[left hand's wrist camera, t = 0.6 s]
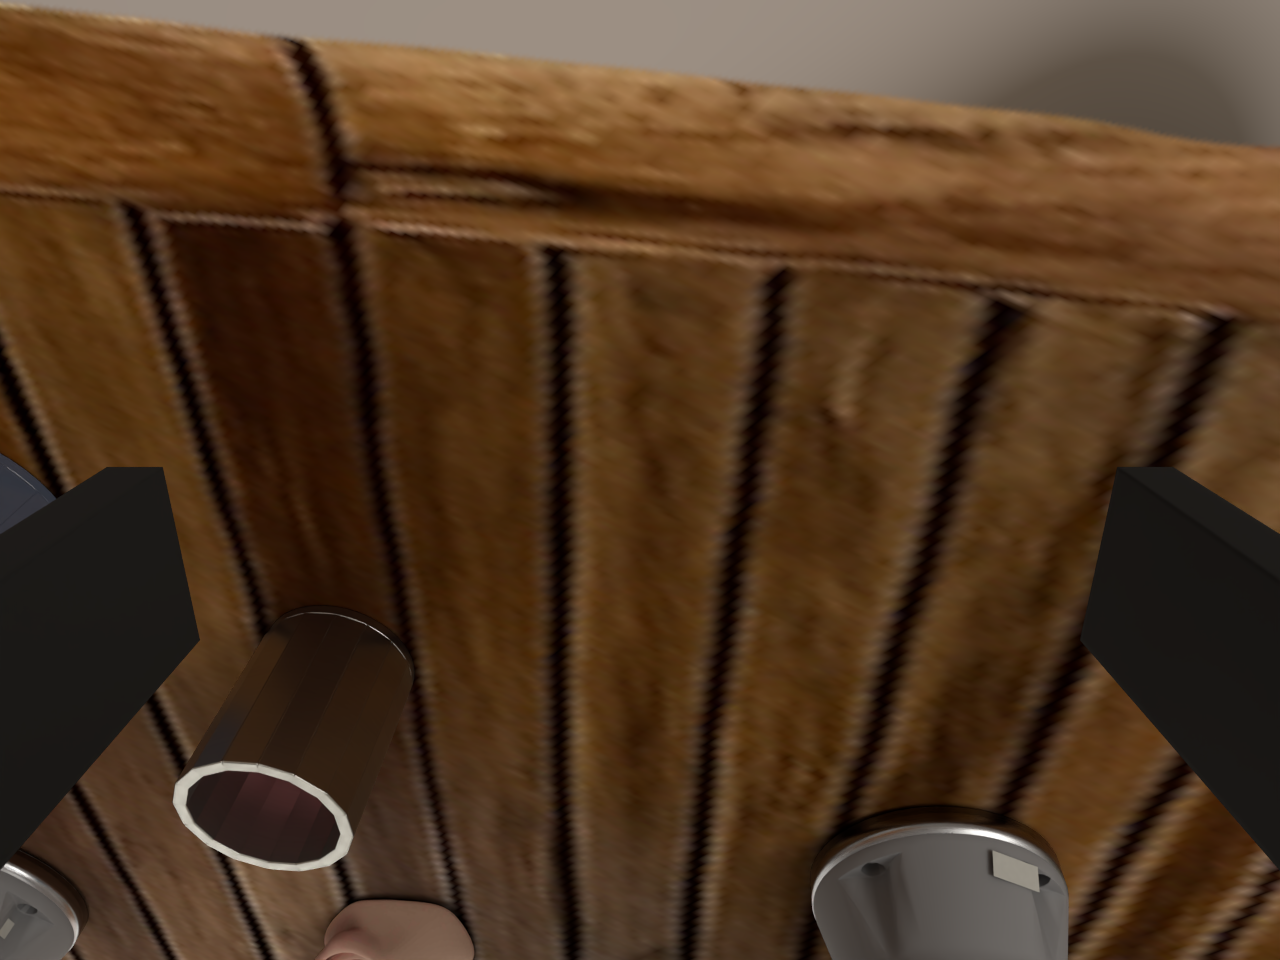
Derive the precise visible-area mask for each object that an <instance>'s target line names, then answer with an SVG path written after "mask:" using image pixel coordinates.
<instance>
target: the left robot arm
mask: <svg viewBox="0 0 1280 960" xmlns="http://www.w3.org/2000/svg"><path fill="white" fill-rule="evenodd" d="M199 640H200V639H199V634H198V629H197V625H196V620H195V615H194V611H193V606H192V601H191V597H190V592H189V587H188V583H187V578H186V574H185V569H184V564H183V560H182V555H181V550H180V546H179V541H178V536H177V532H176V527H175V522H174V518H173V513H172V508H171V504H170V499H169V494H168V490H167V485H166V480H165V476H164V471H163V467H106V468H105V469H103V470H102V471H100V472H98V473H97V474H95V475H94V476H92V477H90V478H89V479H87V480H86V481H84V482H83V483H81V484H79V485H78V486H76V487H75V488H73V489H71V490H70V491H68V492H67V493H65V494H63V495H62V496H60V497H59V498H57V499H55V500H54V501H52V502H51V503H49V504H48V505H46V506H44V507H43V508H41V509H40V510H38V511H36V512H35V513H33V514H32V515H30V516H28V517H27V518H25V519H24V520H22V521H20V522H19V523H17V524H16V525H14V526H12V527H11V528H9V529H8V530H6V531H5V532H3V533H1V534H0V870H1V869H2V868H3V866H4V865H5V864H6V863H7V862H8V861H9V860H10V858H11V857H12V856H13V855H14V854H15V853H16V851H17V850H18V849H19V848H20V847H21V846H22V845H23V843H24V842H25V841H26V840H27V839H28V838H29V837H30V835H31V834H32V833H33V832H34V831H35V830H36V828H37V827H38V826H39V825H40V824H41V823H42V822H43V820H44V819H45V818H46V817H47V816H48V815H49V813H50V812H51V811H52V810H53V809H54V808H55V807H56V805H57V804H58V803H59V802H60V801H61V800H62V798H63V797H64V796H65V795H66V794H67V793H68V792H69V790H70V789H71V788H72V787H73V786H74V785H75V783H76V782H77V781H78V780H79V779H80V778H81V777H82V775H83V774H84V773H85V772H86V771H87V770H88V768H89V767H90V766H91V765H92V764H93V763H94V762H95V760H96V759H97V758H98V757H99V756H100V755H101V753H102V752H103V751H104V750H105V749H106V748H107V747H108V745H109V744H110V743H111V742H112V741H113V740H114V738H115V737H116V736H117V735H118V734H119V733H120V732H121V730H122V729H123V728H124V727H125V726H126V725H127V723H128V722H129V721H130V720H131V719H132V718H133V717H134V715H135V714H136V713H137V712H138V711H139V710H140V708H141V707H142V706H143V705H144V704H145V703H146V702H147V700H148V699H149V698H150V697H151V696H152V695H153V693H154V692H155V691H156V690H157V689H158V688H159V687H160V685H161V684H162V683H163V682H164V681H165V680H166V678H167V677H168V676H169V675H170V674H171V673H172V672H173V670H174V669H175V668H176V667H177V666H178V665H179V663H180V662H181V661H182V660H183V659H184V658H185V657H186V655H187V654H188V653H189V652H190V651H191V650H192V648H193V647H194V646H195V645H196V644H197V643H198V642H199ZM1080 640H1081V642H1082V643H1083V644H1084V645H1085V646H1086V647H1087V648H1088V650H1089V651H1090V652H1091V653H1092V654H1093V655H1094V657H1095V658H1096V659H1097V660H1098V661H1099V662H1100V663H1101V665H1102V666H1103V667H1104V668H1105V669H1106V670H1107V672H1108V673H1109V674H1110V675H1111V676H1112V677H1113V678H1114V680H1115V681H1116V682H1117V683H1118V684H1119V685H1120V687H1121V688H1122V689H1123V690H1124V691H1125V692H1126V693H1127V695H1128V696H1129V697H1130V698H1131V699H1132V700H1133V702H1134V703H1135V704H1136V705H1137V706H1138V707H1139V708H1140V710H1141V711H1142V712H1143V713H1144V714H1145V715H1146V717H1147V718H1148V719H1149V720H1150V721H1151V722H1152V723H1153V725H1154V726H1155V727H1156V728H1157V729H1158V730H1159V732H1160V733H1161V734H1162V735H1163V736H1164V737H1165V738H1166V740H1167V741H1168V742H1169V743H1170V744H1171V745H1172V747H1173V748H1174V749H1175V750H1176V751H1177V752H1178V753H1179V755H1180V756H1181V757H1182V758H1183V759H1184V760H1185V762H1186V763H1187V764H1188V765H1189V766H1190V767H1191V768H1192V770H1193V771H1194V772H1195V773H1196V774H1197V775H1198V777H1199V778H1200V779H1201V780H1202V781H1203V782H1204V783H1205V785H1206V786H1207V787H1208V788H1209V789H1210V790H1211V792H1212V793H1213V794H1214V795H1215V796H1216V797H1217V798H1218V800H1219V801H1220V802H1221V803H1222V804H1223V805H1224V807H1225V808H1226V809H1227V810H1228V811H1229V812H1230V813H1231V815H1232V816H1233V817H1234V818H1235V819H1236V820H1237V822H1238V823H1239V824H1240V825H1241V826H1242V827H1243V828H1244V830H1245V831H1246V832H1247V833H1248V834H1249V835H1250V837H1251V838H1252V839H1253V840H1254V841H1255V842H1256V843H1257V845H1258V846H1259V847H1260V848H1261V849H1262V850H1263V852H1264V853H1265V854H1266V855H1267V856H1268V857H1269V858H1270V860H1271V861H1272V862H1273V863H1274V864H1275V865H1276V866H1277V868H1278V869H1279V870H1280V534H1279V533H1277V532H1275V531H1274V530H1272V529H1271V528H1269V527H1268V526H1266V525H1264V524H1263V523H1261V522H1260V521H1258V520H1256V519H1255V518H1253V517H1252V516H1250V515H1248V514H1247V513H1245V512H1244V511H1242V510H1240V509H1239V508H1237V507H1236V506H1234V505H1232V504H1231V503H1229V502H1228V501H1226V500H1225V499H1223V498H1221V497H1220V496H1218V495H1217V494H1215V493H1213V492H1212V491H1210V490H1209V489H1207V488H1205V487H1204V486H1202V485H1201V484H1199V483H1197V482H1196V481H1194V480H1193V479H1191V478H1190V477H1188V476H1186V475H1185V474H1183V473H1182V472H1180V471H1178V470H1177V469H1175V468H1174V467H1117V471H1116V476H1115V480H1114V485H1113V490H1112V494H1111V499H1110V504H1109V508H1108V513H1107V518H1106V522H1105V527H1104V532H1103V536H1102V541H1101V546H1100V550H1099V555H1098V560H1097V564H1096V569H1095V574H1094V578H1093V583H1092V587H1091V592H1090V597H1089V601H1088V606H1087V611H1086V615H1085V620H1084V625H1083V629H1082V634H1081V639H1080ZM810 885H811V897H812V909H813V913H814V917H815V919H816V921H817V924H818V927H819V929H820V931H821V934H822V936H823V939H824V941H825V943H826V946H827V948H828V951H829V953H830V955H831V958H832V960H1068V889H1067V885H1066V882H1065V879H1064V877H1063V874H1062V871H1061V868H1060V865H1059V862H1058V859H1057V856H1056V854H1055V852H1054V850H1053V849H1052V847H1051V846H1050V845H1049V844H1048V842H1047V841H1046V840H1045V839H1044V838H1043V837H1042V836H1041V835H1039V834H1038V833H1037V832H1035V831H1034V830H1032V829H1031V828H1029V827H1027V826H1026V825H1024V824H1022V823H1020V822H1018V821H1016V820H1013V819H1010V818H1008V817H1005V816H1002V815H999V814H995V813H992V812H987V811H983V810H977V809H971V808H961V807H920V808H912V809H905V810H899V811H894V812H890V813H886V814H882V815H879V816H876V817H873V818H870V819H867V820H865V821H862V822H860V823H857V824H855V825H853V826H852V827H850V828H848V829H846V830H844V831H843V832H841V833H840V834H838V835H837V836H835V837H834V838H833V839H831V840H830V841H829V842H828V843H827V844H826V845H825V846H824V847H823V848H822V850H821V851H820V852H819V854H818V855H817V857H816V858H815V860H814V863H813V865H812V868H811V872H810Z"/></svg>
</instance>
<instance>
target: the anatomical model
mask: <svg viewBox="0 0 1280 960" xmlns="http://www.w3.org/2000/svg"><path fill="white" fill-rule="evenodd" d="M324 942H325V947H324V948H323V949H322V950H321V952H320V953H319V954H318V955H317V957H316V958H315V960H473V957H474V947H473V943H472V941H471V938H470V936H469V934H468V932H467V931H466V929H465V928H464V926H463V925H462V923H461V922H460V921H459V919H458V918H457V917H456V916H455V915H454V914H453V913H452V912H450V911H449V910H448V909H446V908H444V907H442V906H439V905H436V904H431V903H425V902H417V901H404V900H362V901H357V902H354V903H352V904H350V905H349V906H347V907H346V908H344V909H343V910H342V911H341V912H340V913H339V914H338V915H337V916H336V917H335V918H334V919H333V921H332V922H331V923H330V925H329V927H328V928H327V930H326V933H325V939H324Z"/></svg>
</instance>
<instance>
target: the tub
mask: <svg viewBox="0 0 1280 960" xmlns="http://www.w3.org/2000/svg"><path fill="white" fill-rule="evenodd" d="M55 499H56V498H55V496H54V495H53V494H52V493H51V492H50V491H49V490H48V489H47V488H46V487H45V486H44V485H43V484H42V483H41V482H40V481H39V480H37V479H36V478H35V477H34V476H32V475H31V474H30V473H29V472H28V471H26V470H25V469H24V468H22V467H21V466H19V465H18V464H16V463H15V462H14V461H12V460H11V459H9V458H7V457H6V456H4V455H2V454H0V534H1V533H3V532H5V531H6V530H8V529H9V528H11V527H12V526H14V525H16V524H17V523H19V522H20V521H22V520H24V519H25V518H27V517H28V516H30V515H32V514H33V513H35V512H36V511H38V510H40V509H41V508H43V507H44V506H46V505H48V504H49V503H51V502H52V501H54V500H55Z"/></svg>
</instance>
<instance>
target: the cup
mask: <svg viewBox="0 0 1280 960" xmlns="http://www.w3.org/2000/svg"><path fill="white" fill-rule="evenodd" d="M413 681H414V664H413V661H412V658H411V656H410V654H409V652H408V650H407V648H406V647H405V645H404V644H403V643H402V642H401V640H400V639H399V638H398V637H397V636H396V635H395V634H394V633H393V632H392V631H390V630H389V629H388V628H386V627H385V626H384V625H382V624H381V623H379V622H377V621H376V620H374V619H372V618H370V617H368V616H366V615H363V614H361V613H358V612H356V611H352V610H349V609H345V608H340V607H334V606H307V607H302V608H298V609H295V610H293V611H290V612H288V613H286V614H284V615H283V616H281V617H280V618H279V619H278V620H277V621H276V622H275V623H274V624H273V625H272V627H271V629H270V630H269V631H268V632H267V633H266V634H265V636H264V637H263V639H262V641H261V642H260V644H259V646H258V647H257V649H256V651H255V652H254V654H253V656H252V657H251V659H250V660H249V662H248V664H247V665H246V667H245V669H244V670H243V672H242V674H241V675H240V677H239V679H238V680H237V682H236V684H235V685H234V687H233V689H232V690H231V692H230V694H229V695H228V697H227V699H226V700H225V702H224V704H223V705H222V707H221V708H220V710H219V712H218V713H217V715H216V717H215V718H214V720H213V722H212V723H211V725H210V727H209V728H208V730H207V732H206V733H205V735H204V737H203V738H202V740H201V742H200V743H199V745H198V747H197V748H196V750H195V752H194V753H193V755H192V756H191V758H190V760H189V761H188V763H187V765H186V766H185V768H184V770H183V771H182V773H181V775H180V776H179V778H178V780H177V781H176V783H175V789H174V796H173V805H174V807H175V808H176V810H177V812H178V814H179V816H180V818H181V820H182V822H183V824H184V825H185V826H186V827H187V828H188V829H189V830H191V831H192V832H193V833H194V834H195V835H196V836H197V837H198V838H200V839H201V840H202V841H203V842H204V843H206V845H208V846H210V847H212V848H214V849H216V850H218V851H220V852H222V853H223V854H225V855H227V856H229V857H231V858H233V859H236V860H239V861H243V862H246V863H250V864H253V865H257V866H260V867H264V868H269V869H277V870H290V871H305V870H310V869H316V868H321V867H326V866H330V865H331V864H333V863H334V862H336V861H337V860H339V859H340V858H342V857H343V856H345V855H346V854H347V853H348V851H349V848H350V845H351V843H352V840H353V838H354V835H355V832H356V830H357V827H358V825H359V822H360V819H361V817H362V814H363V812H364V809H365V806H366V804H367V801H368V799H369V796H370V793H371V791H372V788H373V786H374V783H375V781H376V778H377V775H378V773H379V770H380V768H381V765H382V762H383V760H384V757H385V755H386V752H387V749H388V747H389V744H390V742H391V739H392V736H393V734H394V731H395V729H396V726H397V723H398V721H399V718H400V716H401V713H402V711H403V708H404V705H405V703H406V700H407V697H408V695H409V692H410V690H411V687H412V684H413Z"/></svg>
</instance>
